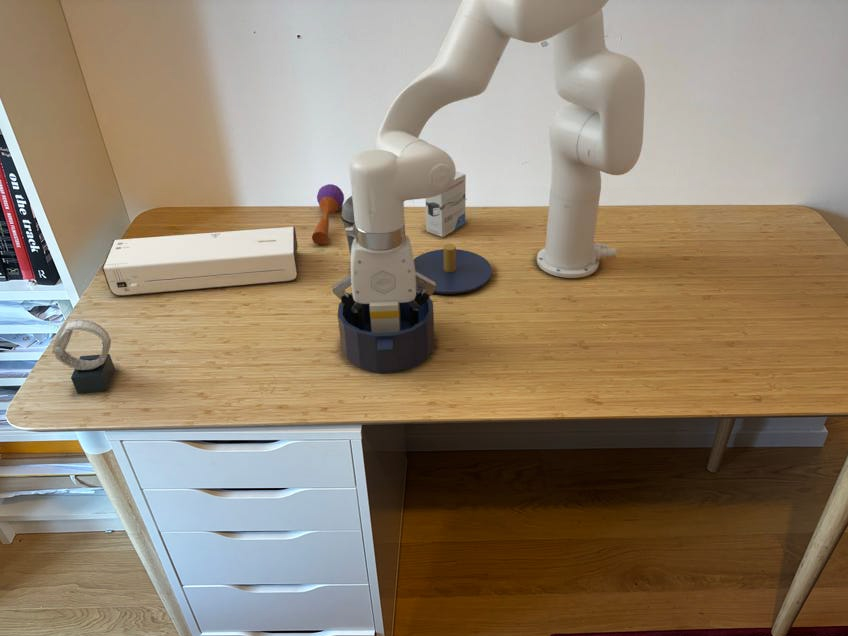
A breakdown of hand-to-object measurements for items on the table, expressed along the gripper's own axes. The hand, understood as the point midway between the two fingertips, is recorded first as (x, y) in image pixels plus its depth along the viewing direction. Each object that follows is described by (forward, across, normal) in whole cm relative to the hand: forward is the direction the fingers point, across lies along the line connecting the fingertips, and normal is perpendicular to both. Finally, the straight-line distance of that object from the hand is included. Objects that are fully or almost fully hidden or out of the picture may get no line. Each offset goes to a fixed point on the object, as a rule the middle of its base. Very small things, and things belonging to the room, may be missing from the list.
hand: (387, 326), depth 120 cm
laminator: (+4, -35, +25) cm, 43 cm away
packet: (+3, 0, 0) cm, 3 cm away
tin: (+4, 0, 0) cm, 4 cm away
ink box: (+4, +12, +43) cm, 45 cm away
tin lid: (+3, +12, +23) cm, 26 cm away
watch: (+4, -46, -7) cm, 47 cm away
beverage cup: (+4, -5, +26) cm, 27 cm away
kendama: (+4, -14, +46) cm, 48 cm away
